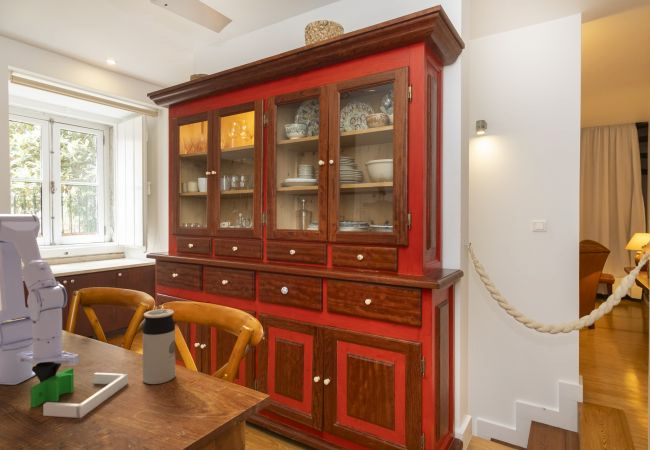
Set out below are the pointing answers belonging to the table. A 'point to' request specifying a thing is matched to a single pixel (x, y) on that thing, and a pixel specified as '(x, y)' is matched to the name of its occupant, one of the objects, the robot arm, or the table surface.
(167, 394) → the table surface
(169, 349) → the travel mug
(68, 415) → the white u-shaped frame
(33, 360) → the robot arm
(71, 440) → the table surface
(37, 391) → the pipe clamp
